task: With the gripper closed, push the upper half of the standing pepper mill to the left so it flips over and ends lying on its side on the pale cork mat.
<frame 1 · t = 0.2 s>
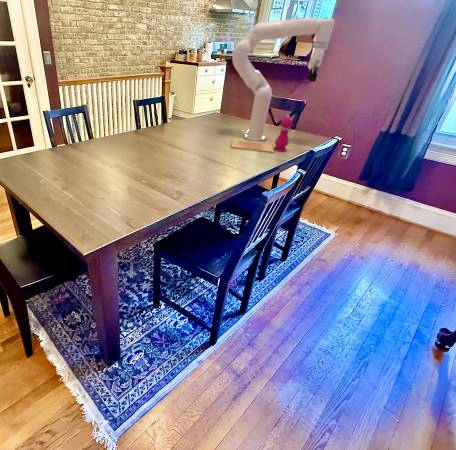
hand: (310, 80, 175), 37 cm above the table, tool pointing down, fingers open, 9 cm apart
cork mat: (252, 146, 186), on the table
pepper mill: (279, 150, 182), on the table
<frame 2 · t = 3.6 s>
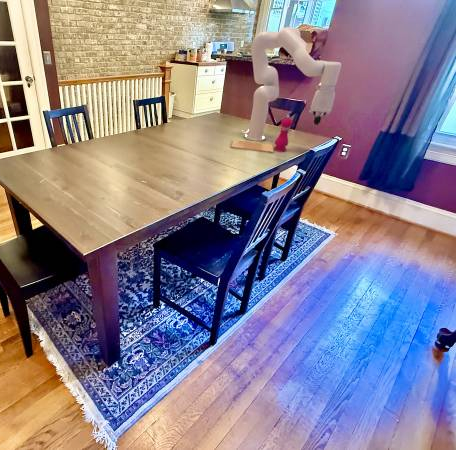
hand: (316, 124, 169), 17 cm above the table, tool pointing down, fingers closed
nothing on the table moved.
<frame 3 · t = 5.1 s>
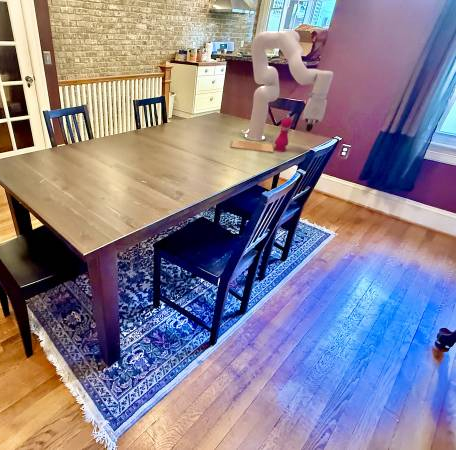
hand: (308, 131, 173), 12 cm above the table, tool pointing down, fingers closed
nothing on the table moved.
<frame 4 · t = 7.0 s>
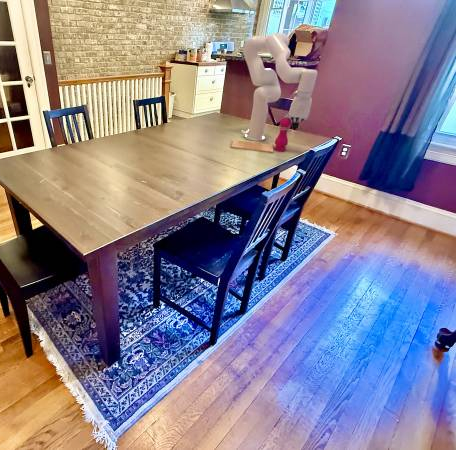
hand: (294, 129, 174), 13 cm above the table, tool pointing down, fingers closed
pepper mill: (279, 150, 182), on the table, touching gripper
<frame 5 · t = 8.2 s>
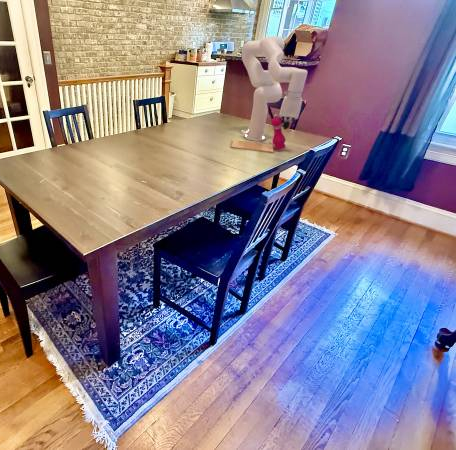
hand: (285, 128, 175), 12 cm above the table, tool pointing down, fingers closed
pepper mill: (279, 148, 181), point 1 cm above the table
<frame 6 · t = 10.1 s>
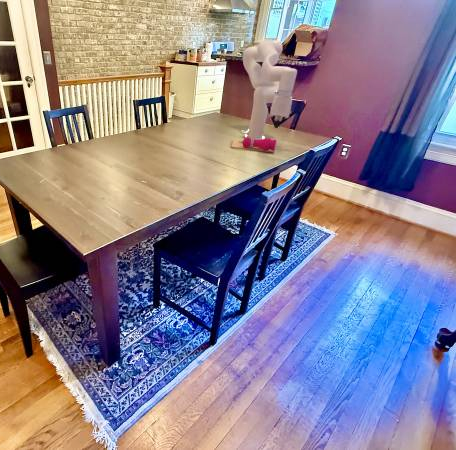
hand: (276, 127, 176), 13 cm above the table, tool pointing down, fingers closed
pepper mill: (275, 145, 175), point 4 cm above the table, touching cork mat
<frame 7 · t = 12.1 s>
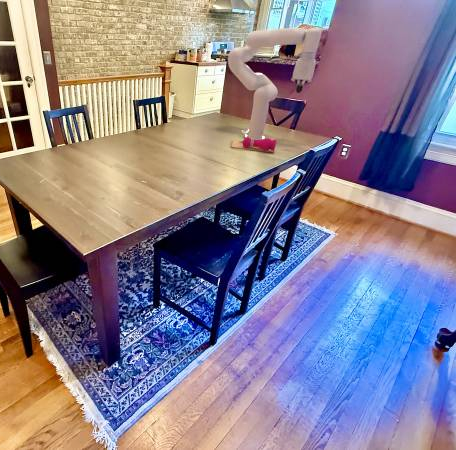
hand: (298, 92, 173), 31 cm above the table, tool pointing down, fingers closed
nothing on the table moved.
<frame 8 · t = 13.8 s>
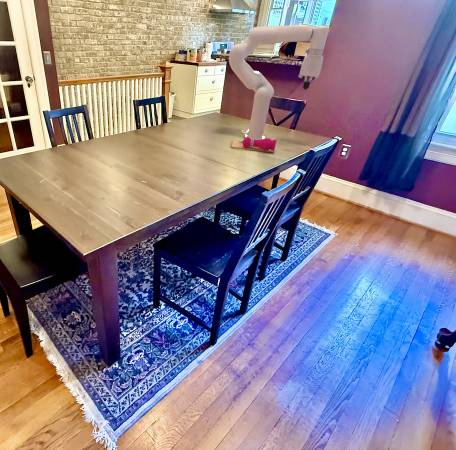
hand: (305, 89, 175), 32 cm above the table, tool pointing down, fingers closed
nothing on the table moved.
at the end: pepper mill tilted 93°; pepper mill touching cork mat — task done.
